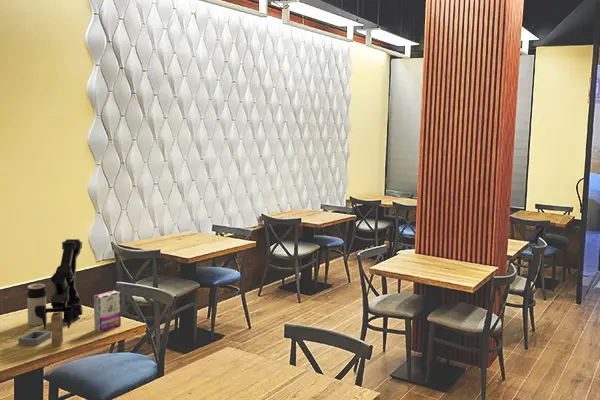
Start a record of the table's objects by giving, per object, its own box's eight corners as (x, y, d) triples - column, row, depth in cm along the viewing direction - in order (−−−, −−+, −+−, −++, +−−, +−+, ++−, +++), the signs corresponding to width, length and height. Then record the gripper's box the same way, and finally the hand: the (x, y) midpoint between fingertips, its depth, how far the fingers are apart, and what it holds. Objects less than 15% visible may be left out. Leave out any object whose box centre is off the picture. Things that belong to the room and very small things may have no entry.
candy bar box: (114, 323, 274) (114, 290, 272) (121, 326, 271) (120, 292, 269) (93, 329, 265) (93, 294, 263) (100, 332, 262) (99, 297, 260)
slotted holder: (33, 335, 256) (33, 330, 255) (51, 337, 254) (51, 331, 254) (18, 344, 245) (18, 338, 245) (36, 345, 244) (36, 340, 244)
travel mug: (50, 320, 275) (49, 284, 273) (40, 326, 267) (40, 288, 265) (34, 319, 276) (33, 283, 273) (24, 325, 268) (23, 287, 266)
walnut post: (54, 341, 249) (53, 312, 248) (62, 341, 250) (62, 312, 248) (51, 346, 244) (51, 316, 243) (60, 345, 245) (60, 316, 244)
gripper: (34, 287, 246) (29, 320, 237) (81, 285, 250) (77, 318, 241) (39, 299, 255) (34, 332, 246) (84, 298, 259) (80, 330, 249)
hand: (56, 328), depth 245 cm, fingers open, 9 cm apart
